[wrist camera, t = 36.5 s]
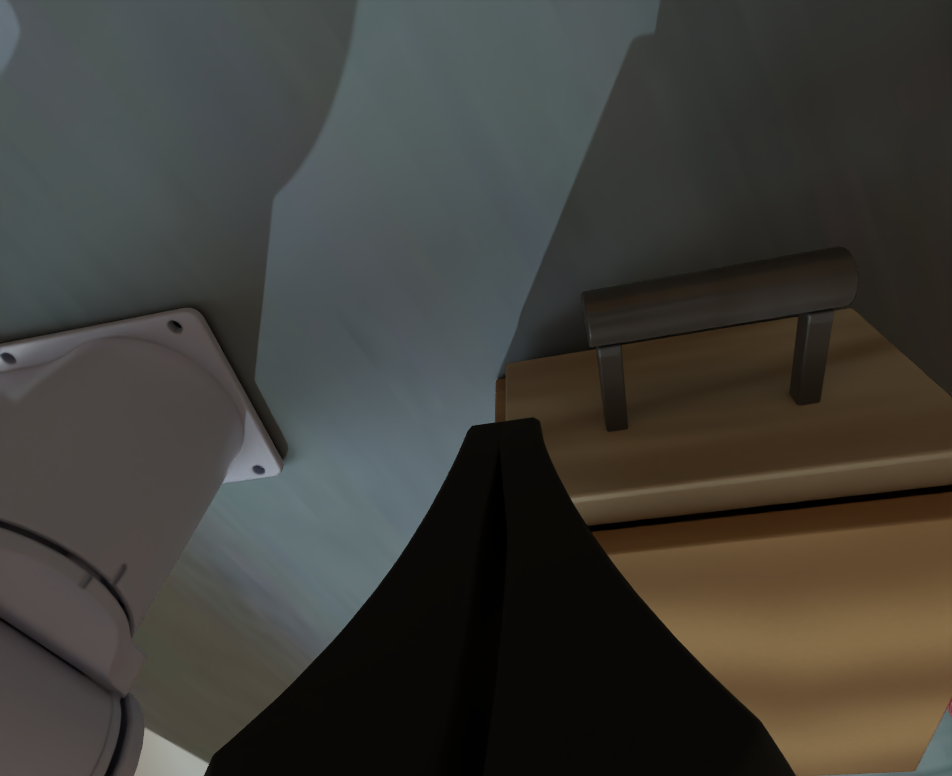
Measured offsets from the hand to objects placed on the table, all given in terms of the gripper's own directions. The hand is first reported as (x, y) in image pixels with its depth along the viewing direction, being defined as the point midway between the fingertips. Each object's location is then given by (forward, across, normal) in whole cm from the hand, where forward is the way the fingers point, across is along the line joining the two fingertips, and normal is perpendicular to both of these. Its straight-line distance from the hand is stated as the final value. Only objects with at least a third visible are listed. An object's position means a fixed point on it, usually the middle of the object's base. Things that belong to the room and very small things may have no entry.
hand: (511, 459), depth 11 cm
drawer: (+9, -5, +7) cm, 12 cm away
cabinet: (+9, -5, +11) cm, 15 cm away
